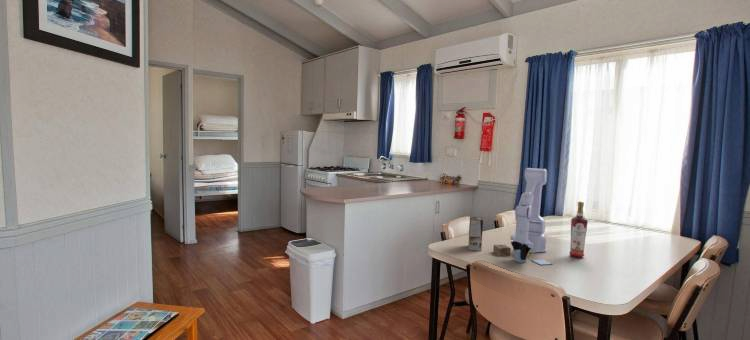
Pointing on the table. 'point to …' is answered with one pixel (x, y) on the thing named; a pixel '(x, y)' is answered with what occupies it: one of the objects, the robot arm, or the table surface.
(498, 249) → the walnut block
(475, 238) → the coffee box
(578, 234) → the liquor
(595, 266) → the table surface
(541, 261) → the tile
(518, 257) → the blue block
